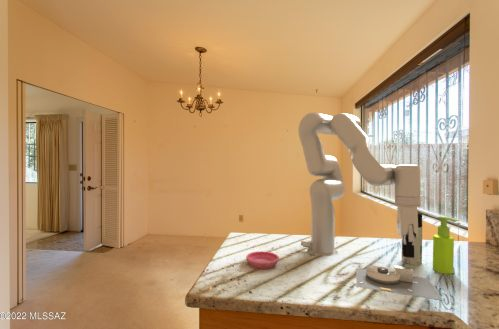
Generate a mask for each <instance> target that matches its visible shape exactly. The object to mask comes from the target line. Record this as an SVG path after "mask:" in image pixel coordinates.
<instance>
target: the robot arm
mask: <svg viewBox="0 0 499 329" xmlns="http://www.w3.org/2000/svg"><path fill="white" fill-rule="evenodd" d="M318 134H322V135H334V136H337V138H338V140H340V141H341V143H342V144H343V145H344V146H345V148H346V149H347V151H348V152H349V155H350V159H351V162H352V164H353V166H354V168H355V170H356V171H357V172H358V174H360V176H361V177H362V178H363V180H365V182H366V183H368V184H369V185H371V186H374V187H380V186H390V185H392V186H393V185H394V206H396V207H397V210H396V232H397V233H398V235H399V236H400V237H401V240H402V239H403V243H402V242H401V255H402V254H403V256H404V257H412V258H413V257H414V237H415V238H416V237H418V213H417V212H418V208H420V207H422V205H421V204H422V202H421V200H422V199H421V168H420V166H419V165H418V164H398V165H395V164H389V163H387V164H385V163H383V164H381V163H380V162H379V161H378V160H377V159H376V157H374V154H372V153H371V150H370V149H369V143H370V138H369V137H368V135H367V134H366V133H365V131H364V130H362V122H361V120H360V118H359V117H357V116H355V115H353V114H349V113H344V112H339V113H336V114H335V115H328V114H325V113H321V112H309V113H307V114H305V115H304V116H303V117H302V118H301V120H300V121H299V125H298V137H299V141H300V142H301V143H300V144H301V147H302V150H303V155H304V158H305V163H306V168H307V170H308V173H309V174H310V175H311V176H313V177H322V178H319V179H315V181H313V182H312V183H311V184H310V186H309V197H310V204H311V225H310V226H311V229H310V230H311V232H310V233H311V234H310V235H311V238H310V240H309V241H305V240H301V241H300V246H302V247H303V248H307V250H306V251H307V254H308V255H310V256H312V257H315V255H318V256H322V257H323V256H325V257H329V256H335V255H337V254H338V253H339V252H338V250H337V249H335V232H336V230H335V228H336V226H335V223H336V220H335V218H336V214H335V213H336V212H335V207H334V206H335V205H334V203H333V201H336V200H339V199H342V198H343V196H344V195H345V193H346V184H345V179H344V177H343V173H342V170H341V166H340V163H339V160H338V159H337V158H336V157H335V156H333V155H330V154H325V150H324V146H323V143H322V140H321V139H320V137H319V136H318Z"/></svg>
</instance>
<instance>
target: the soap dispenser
mask: <svg viewBox="0 0 499 329" xmlns="http://www.w3.org/2000/svg"><path fill="white" fill-rule="evenodd" d="M437 218H438V220H440V224H439V225H438V226H437V233H436V234H433V237H432V239H433V241H432V243H433V244H432V270H433V271H434V272H437V273H439V274H446V275H452V274H454V259H455V258H454V252H455V251H454V250H455V249H454V248H455V247H454V246H455V238H454V236H450V234H451V233H450V231H451V230H450V228H451V227H449V226H448V225H447V224H448V222H447V221H451V222H453V223H454V222H458V221H459V220H458V219H457V218H456V219H455V218H453V217H449V216H438V217H437Z"/></svg>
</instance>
